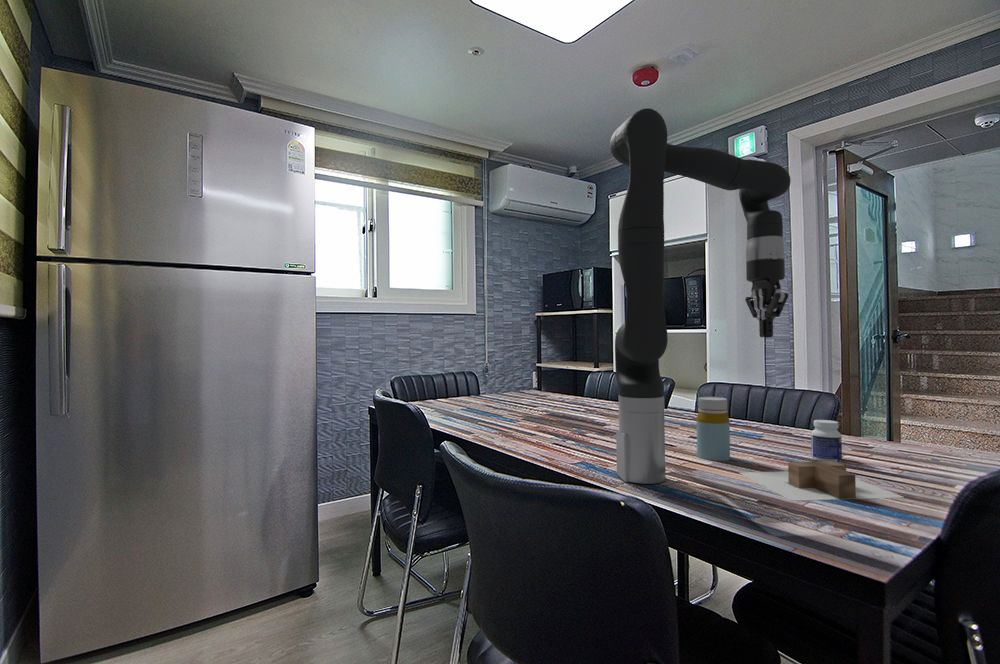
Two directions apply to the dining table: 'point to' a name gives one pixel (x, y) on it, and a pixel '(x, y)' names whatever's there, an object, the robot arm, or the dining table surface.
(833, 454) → the pill bottle
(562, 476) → the dining table surface
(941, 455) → the dining table surface
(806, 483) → the tee block
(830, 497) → the mat
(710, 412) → the bottle
